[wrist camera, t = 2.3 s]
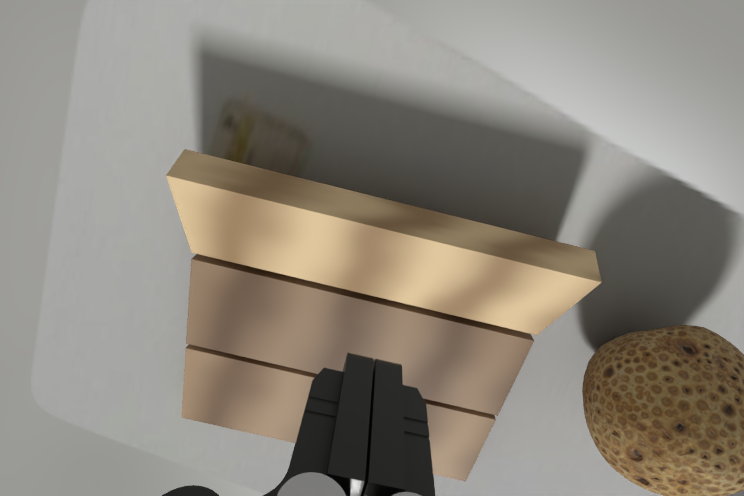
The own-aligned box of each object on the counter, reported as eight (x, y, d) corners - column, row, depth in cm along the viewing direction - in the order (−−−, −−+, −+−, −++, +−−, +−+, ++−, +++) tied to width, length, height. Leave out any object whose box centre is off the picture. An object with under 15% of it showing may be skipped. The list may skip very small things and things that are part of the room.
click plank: (594, 251, 21) (601, 282, 20) (534, 307, 26) (536, 335, 25) (184, 149, 20) (165, 175, 19) (205, 228, 26) (191, 252, 24)
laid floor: (524, 323, 27) (533, 340, 25) (461, 458, 32) (465, 481, 30) (205, 246, 26) (191, 259, 25) (194, 397, 32) (181, 417, 30)
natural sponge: (628, 263, 25) (762, 370, 16) (723, 335, 27) (894, 470, 17) (526, 357, 28) (588, 491, 19) (616, 417, 30) (713, 567, 21)
